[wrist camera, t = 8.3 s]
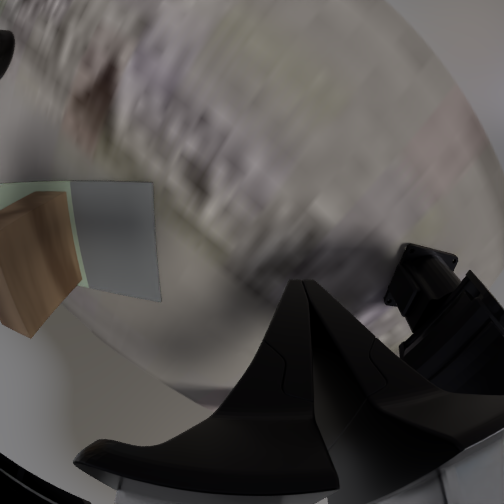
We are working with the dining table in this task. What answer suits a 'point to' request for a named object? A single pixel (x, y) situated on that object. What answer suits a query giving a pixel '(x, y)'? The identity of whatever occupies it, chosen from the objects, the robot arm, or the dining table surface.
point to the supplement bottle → (6, 49)
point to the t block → (35, 260)
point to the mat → (107, 232)
